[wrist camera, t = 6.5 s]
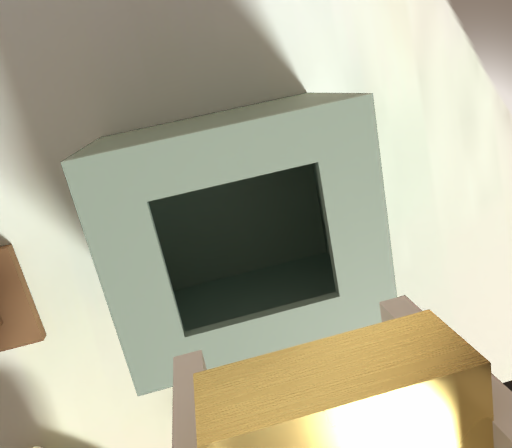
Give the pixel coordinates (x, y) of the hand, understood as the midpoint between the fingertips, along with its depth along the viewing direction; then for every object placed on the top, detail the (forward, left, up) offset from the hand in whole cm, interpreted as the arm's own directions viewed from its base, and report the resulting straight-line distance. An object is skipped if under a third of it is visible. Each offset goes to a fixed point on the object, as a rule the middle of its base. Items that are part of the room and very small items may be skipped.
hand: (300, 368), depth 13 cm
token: (0, 0, +3) cm, 3 cm away
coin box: (0, 0, -21) cm, 21 cm away
